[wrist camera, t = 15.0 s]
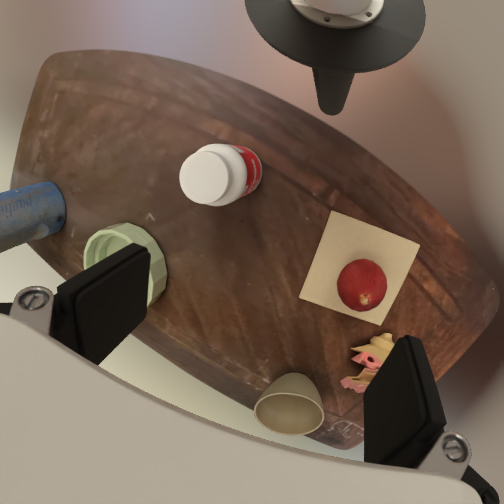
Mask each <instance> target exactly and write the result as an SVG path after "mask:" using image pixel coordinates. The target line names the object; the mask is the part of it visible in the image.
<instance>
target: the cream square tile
mask: <svg viewBox="0 0 504 504" xmlns="http://www.w3.org/2000/svg"><path fill="white" fill-rule="evenodd" d="M419 247H420V245H419V244H417V243H414V242H412V241H410V240H407V239H405V238H403V237H400V236H398V235H395V234H393V233H390V232H388V231H385V230H383V229H380V228H378V227H375V226H373V225H370V224H368V223H365V222H362V221H360V220H357V219H354V218H352V217H349V216H347V215H344V214H341V213H338V212H336V211H333V210H331V213H330V216H329V218H328V221H327V224H326V227H325V230H324V232H323V235H322V238H321V241H320V243H319V246H318V249H317V251H316V254H315V257H314V259H313V262H312V264H311V267H310V270H309V272H308V275H307V277H306V280H305V282H304V285H303V288H302V290H301V293H300V295H299V298H301V299H304V300H307V301H310V302H313V303H316V304H318V305H321V306H324V307H327V308H330V309H333V310H336V311H338V312H341V313H344V314H347V315H350V316H353V317H356V318H359V319H362V320H365V321H368V322H371V323H374V324H377V325H380V326H381V324H382V322H383V320H384V319H385V317H386V315H387V313H388V311H389V309H390V307H391V306H392V304H393V302H394V300H395V298H396V296H397V294H398V292H399V290H400V288H401V286H402V284H403V282H404V280H405V278H406V276H407V274H408V271H409V269H410V267H411V265H412V263H413V261H414V258H415V256H416V254H417V252H418V249H419ZM358 259H368V260H372V261H374V262H375V263H376V264H378V265H379V266H380V267H381V268H382V270H383V272H384V273H385V275H386V278H387V291H386V294H385V297H384V299H383V300H382V302H381V303H380V304H379V306H377V307H376V308H374V309H372V310H370V311H364V312H358V311H355V310H351V309H350V308H348V307H347V306H346V305H345V304H344V303H343V302H342V300H341V299H340V297H339V295H338V291H337V280H338V277H339V274H340V272H341V270H342V269H343V268H344V267H345V266H346V265H347V264H349V263H350V262H352V261H354V260H358Z"/></svg>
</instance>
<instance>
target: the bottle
mask: <svg viewBox="0 0 504 504" xmlns="http://www.w3.org/2000/svg"><path fill="white" fill-rule="evenodd" d="M65 212H66V211H65V203H64V199H63V196H62V194H61V192H60V190H59V188H58V187H57V186H56V185H55V184H53V183H52V182H42V183H38V184H32V185H29V186H26V187H23V188H18V189H14V190H10V191H6V192H2V193H0V253H1V252H4V251H6V250H8V249H11V248H13V247H15V246H18V245H21V244H23V243H26V242H29V241H33V240H37V239H41V238H44V237H46V236H49V235H51V234H53V233H56V232H58V231H59V230H60V229H61V227H62V226H63V224H64V220H65Z"/></svg>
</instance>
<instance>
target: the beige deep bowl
mask: <svg viewBox="0 0 504 504" xmlns="http://www.w3.org/2000/svg"><path fill="white" fill-rule="evenodd" d="M254 414H255V417H256V419H257V421H258V422H259V423H260V424H261V425H262V426H264V427H265V428H267V429H268V430H270V431H273V432H275V433H278V434H282V435H290V436H294V435H295V436H296V435H304V434H308V433H310V432H313V431H314V430H316V429H317V428H319V427H320V426H321V424H322V423H323V420H324V409H323V404H322V400H321V397H320V394H319V392H318V390H317V388H316V387H315V385H314V384H313V383H312V381H311V380H310V379H309V378H308V377H307V376H305V375H303V374H301V373H288V374H285V375H283V376H281V377H279V378H278V379H276V380H275V381H274V382H273V383H272V384H270V385H269V386H268V387H267V388H266V390H265V391H264V392H263V393H262V395H261V396H260V398H259V399H258V401H257V403H256V405H255V407H254Z"/></svg>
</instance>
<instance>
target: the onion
mask: <svg viewBox="0 0 504 504" xmlns="http://www.w3.org/2000/svg"><path fill="white" fill-rule="evenodd" d="M337 291H338V295H339V297H340V299H341V300H342V302H343V303H344V304H345V305H346V306H347V307H348V308H350V309H351V310H355V311H358V312H364V311H370V310H372V309H374V308H376V307H377V306H379V304H380V303H381V302H382V300H383V299H384V297H385V294H386V291H387V278H386V275H385V273H384V272H383V270H382V268H381V267H380V266H379V265H378V264H376V263H375V262H374V261H372V260H368V259H358V260H354V261H352V262H350V263H349V264H347V265H346V266H345V267H344V268H343V269H342V270H341V272H340V274H339V277H338V280H337Z"/></svg>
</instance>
